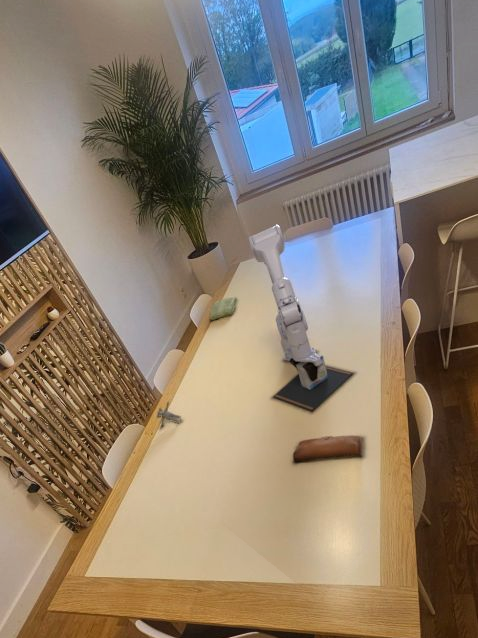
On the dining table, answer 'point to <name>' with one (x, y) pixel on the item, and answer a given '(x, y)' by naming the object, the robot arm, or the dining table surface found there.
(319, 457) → the sunglasses case
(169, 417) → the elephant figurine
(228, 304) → the washcloth
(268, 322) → the dining table surface
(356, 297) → the dining table surface
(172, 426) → the dining table surface
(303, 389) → the slate mat
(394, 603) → the dining table surface
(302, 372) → the medicine box
